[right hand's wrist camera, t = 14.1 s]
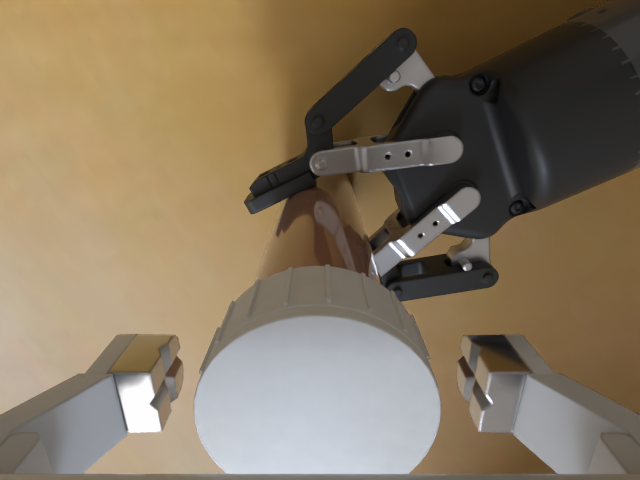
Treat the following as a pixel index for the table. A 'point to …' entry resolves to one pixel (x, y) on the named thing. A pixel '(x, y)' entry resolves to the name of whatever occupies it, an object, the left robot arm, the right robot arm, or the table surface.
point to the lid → (317, 379)
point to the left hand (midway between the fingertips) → (274, 245)
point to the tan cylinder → (320, 231)
